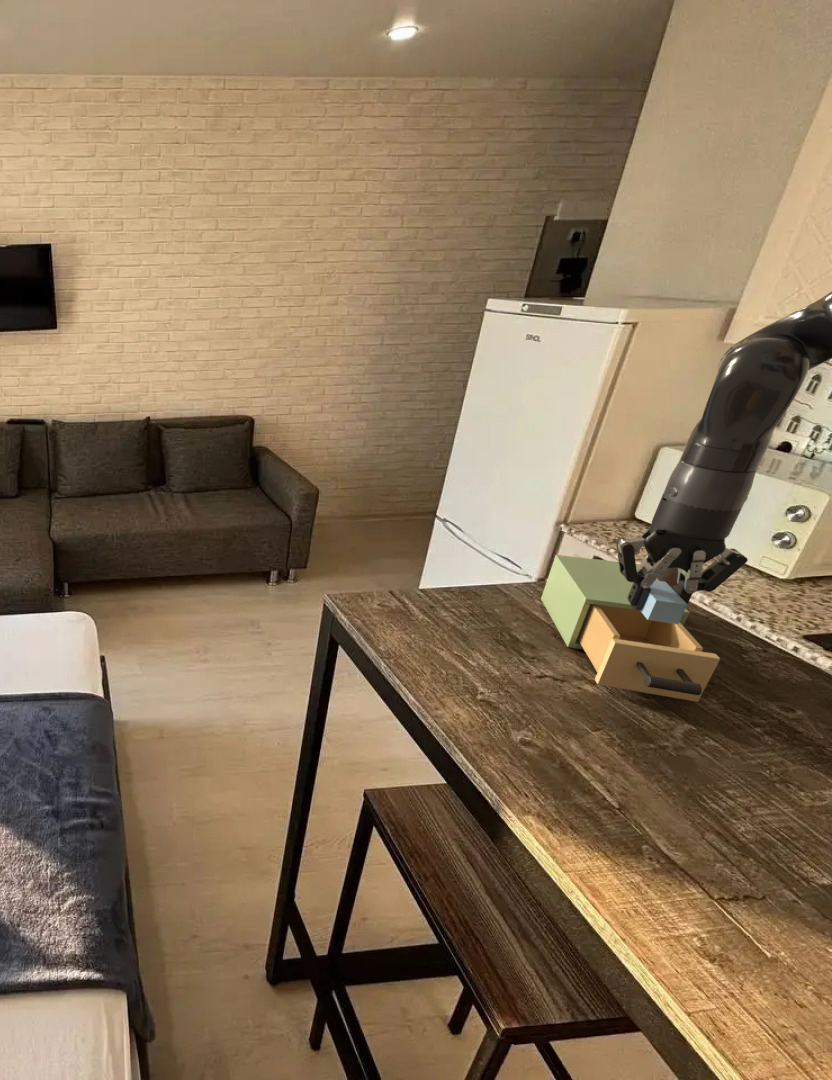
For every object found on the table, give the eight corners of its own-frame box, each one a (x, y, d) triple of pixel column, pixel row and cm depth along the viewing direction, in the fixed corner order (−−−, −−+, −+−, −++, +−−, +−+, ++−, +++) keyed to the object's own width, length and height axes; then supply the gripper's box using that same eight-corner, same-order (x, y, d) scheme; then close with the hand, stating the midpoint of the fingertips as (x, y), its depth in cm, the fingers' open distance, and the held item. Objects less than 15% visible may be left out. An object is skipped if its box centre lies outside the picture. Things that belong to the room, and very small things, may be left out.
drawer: (716, 725, 75) (741, 681, 72) (609, 706, 79) (628, 663, 76) (651, 642, 91) (669, 603, 88) (565, 629, 95) (580, 591, 92)
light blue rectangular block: (657, 600, 84) (665, 581, 83) (678, 624, 79) (687, 604, 78) (628, 596, 85) (636, 578, 84) (647, 620, 80) (656, 600, 79)
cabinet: (665, 662, 88) (689, 612, 84) (567, 647, 92) (586, 598, 88) (625, 610, 101) (644, 564, 97) (540, 598, 105) (555, 554, 101)
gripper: (756, 492, 76) (702, 604, 83) (624, 482, 80) (584, 589, 88) (793, 514, 69) (730, 633, 77) (647, 501, 74) (602, 614, 81)
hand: (652, 609), depth 82 cm, fingers closed on light blue rectangular block, 3 cm apart
